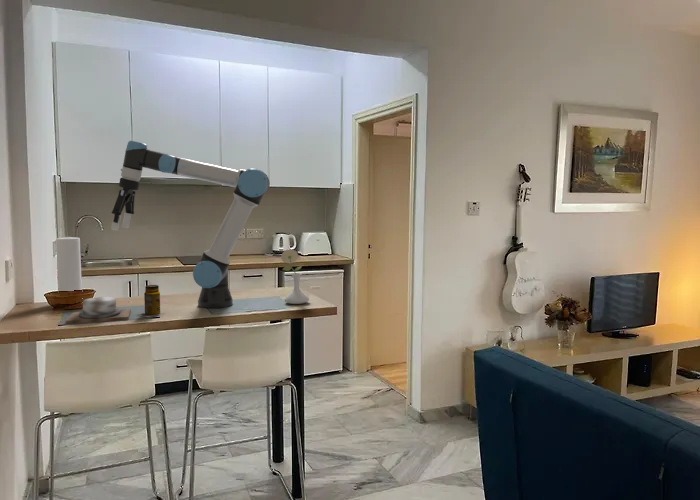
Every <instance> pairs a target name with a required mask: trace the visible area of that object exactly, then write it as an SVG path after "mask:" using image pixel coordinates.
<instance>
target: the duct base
mask: <svg viewBox="0 0 700 500" xmlns="http://www.w3.org/2000/svg"><path fill="white" fill-rule="evenodd" d="M131 313H132V309H131V308H129V309H128V308H127V309H125V308H124V309H119V308H117V298H116V297H111V296H97V297H91V298H90V297H89V298H85V299H83V302H82V311H77V312H76V311H75V312H71V314H70V315H69V316H68V317H67V318H66V320H65V324H66V325H67V324H68V325H69V324H83V323H85V324H86V323H98V322H101V323H102V322H115V321H128V320H130V316H131Z"/></svg>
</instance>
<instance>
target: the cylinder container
mask: <svg viewBox="0 0 700 500" xmlns="http://www.w3.org/2000/svg"><path fill="white" fill-rule="evenodd" d="M55 245H56V246H55V247H56V260H57V261H56V263H57V282H58V283H57V284H58V286H57V287H58V292H59V291H74V290H82V291H83V283H82V282H83V281H82V277H83V276H82V261H81V260H82V258H81V256H82V255H81V239H80V237H75V236H73V237H72V236H64V237H57V238H56V239H55Z"/></svg>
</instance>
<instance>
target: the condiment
mask: <svg viewBox="0 0 700 500" xmlns="http://www.w3.org/2000/svg"><path fill="white" fill-rule="evenodd" d="M144 287H145V290H144V296H143V297H144V299H143V300H144V312H143V313H138V314H136V316H140V317H144V318H145V317H146V318H150V317H151V318H152V317H154V316H155V317H156V316H160V315H164V314H165V312H161V293H160V289H159V287H160V286H159V285H158V284H148V285H145V286H144Z"/></svg>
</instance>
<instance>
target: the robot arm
mask: <svg viewBox="0 0 700 500" xmlns="http://www.w3.org/2000/svg"><path fill="white" fill-rule="evenodd" d="M125 148H126V149H125V151H124V152H125V154H124V158H123V163H122V168H121V169H120V171H121V172H120V173H121V174H120V176H121V177H120V178H119V182H118V187H120V188H122V189H119V191H118V195H117V198H116V199H115V200H116V201H115V203H114V206H113V209H112V211H111V214H113V217H112V221H111V227H110V230H111V231H114V232H119V229H120V224H121V228H122V229H126V230H129V228H130V223H131V219H132V218H131V217H132V215H134V214H135V197H136V191H138V190H139V187H140V182H139V181H140V180H141V178H142V173H143V168H146V169H150V170H153V171H156V172H157V171H158V172H161V173H165V174H172V175H176V176H181V177H187V178H190V179H195V180H199V181H204V182H209V183H213V184H218V185H222V186H226V187H232V188H234V190H233V193H232V194H233V201H232V203H231V205H230V207H229V209H228V211H227V213H226V214H225V216H224V219H223V221H222V223H221V225H220V227H219V229H218V231H217V233H216V235H215V237H214V240H212V243H211V246H210V247H209V249H207V250H204V251H203V254H201V256H200V259H199V261H198V263H196V265H195V266H194V268H193V271H192V277H193V281H194V282H195V283H196V285H198V286H199V287H201V290H200V293H199V297H198V299H197V306H198V307H200V308H205V309H207V308H208V309H217V308H219V309H220V308H225V307H230V306H232V305H233V301H234V300H233V297H232V294H231V291H230V288H229V266H230V260H229V257H230V255H231V254H232V252H233V250H234V247H235V245H236V243H237V241H238V239H239V237H240V236H241V233H242V231H243V229H244V228H245V226H246V224H247V222H248V219H249V217H250V215H251V213H252V211H253V209H254V208H256V207H259V205H260V203H261V202H262V199H263V197H264V196H265V194H266V193H267V192H268V191H269V190H270V185H271V184H270V179H269V176H268V175H267V174H266V173H265V172H264V171H263V170H261V169H258V168H257V167H256V168H255V167H254V168H253V167H251V168H248V169H244V168H241V169H239V170H236V169H233V168H228V167H225V166H224V167H222V166H219V165H215V164H210V163H206V162H200V161H196V160H193V159H187V158H184V157H178V156H174V155H171V154H168V153H165V152H160V151H156V150H151V149H148V145H147V144H146V143H142V142H138V141H135V140H129V141H128V142H127V145H126V147H125ZM124 208H125V212H124V213H123V218H122V215H121V214H122V212H123V211H124ZM121 219H122V220H121ZM121 221H122V222H121Z"/></svg>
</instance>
